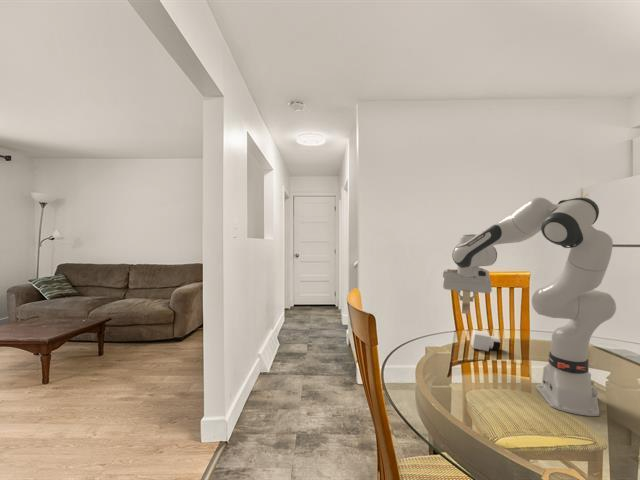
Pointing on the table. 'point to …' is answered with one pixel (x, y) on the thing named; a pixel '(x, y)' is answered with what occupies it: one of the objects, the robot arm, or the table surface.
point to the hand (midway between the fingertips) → (466, 300)
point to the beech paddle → (466, 302)
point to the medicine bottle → (484, 341)
